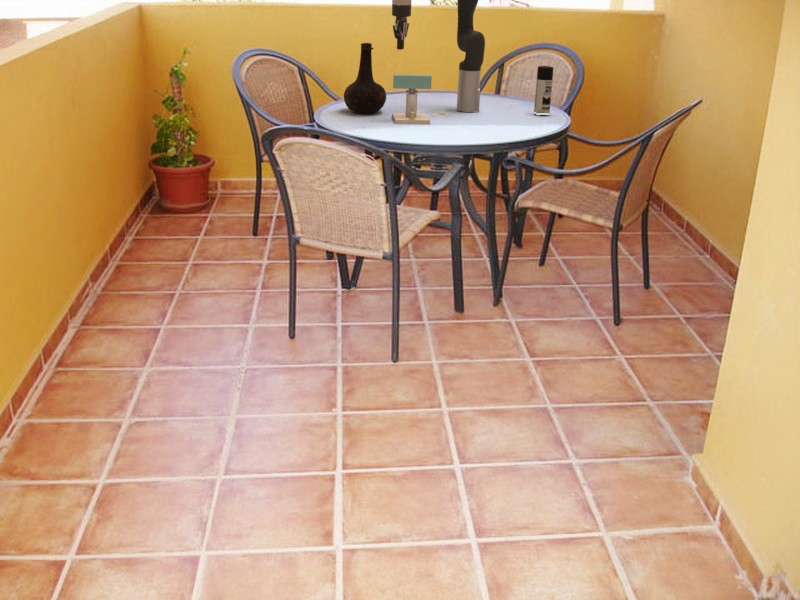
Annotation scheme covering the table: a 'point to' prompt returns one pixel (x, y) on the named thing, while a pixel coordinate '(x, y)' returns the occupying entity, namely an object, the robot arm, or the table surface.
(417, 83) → the pale green block
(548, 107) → the spray can
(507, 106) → the table surface
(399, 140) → the table surface
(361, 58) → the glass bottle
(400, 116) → the post base
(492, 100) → the table surface
